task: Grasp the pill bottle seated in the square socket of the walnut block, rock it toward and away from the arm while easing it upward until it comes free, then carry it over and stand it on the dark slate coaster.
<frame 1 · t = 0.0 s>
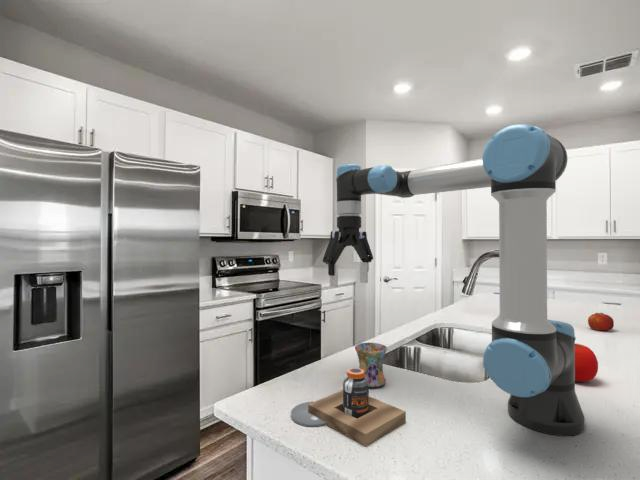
hand: (349, 284, 111), 28 cm above the counter, fingers open, 13 cm apart
tomato: (575, 380, 106), on the counter
coaster: (314, 414, 86), resting in socket block
tomato 2: (600, 330, 163), on the counter
socket block: (355, 418, 84), on the counter
mug: (368, 382, 106), on the counter
pill bottle: (355, 419, 84), resting in socket block
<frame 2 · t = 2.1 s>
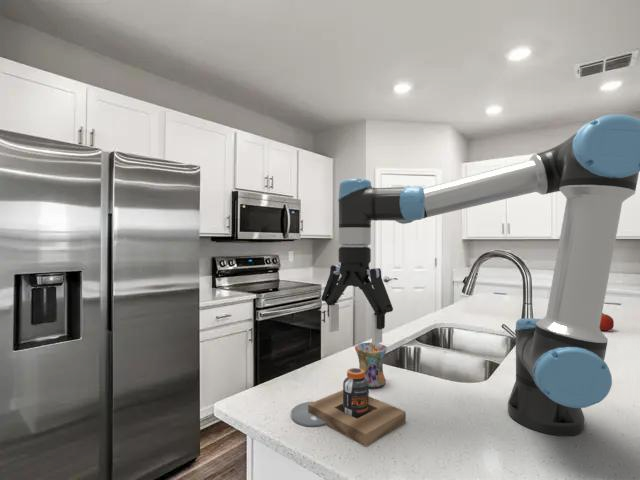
hand: (354, 336, 84), 19 cm above the counter, fingers open, 13 cm apart
nothing on the counter moved.
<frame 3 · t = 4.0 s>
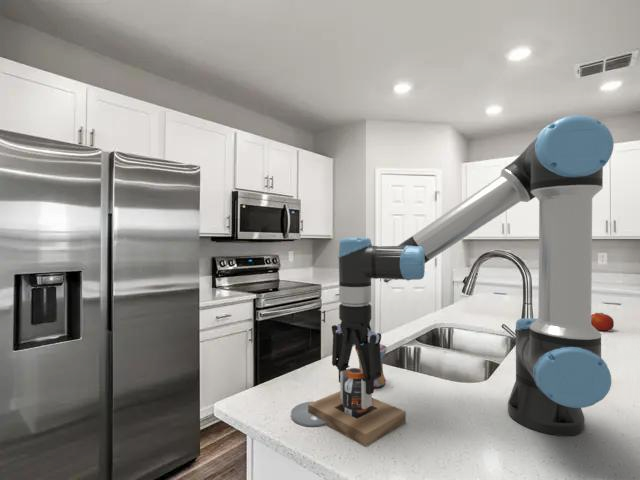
hand: (355, 401, 84), 4 cm above the counter, fingers closed on pill bottle, 6 cm apart
pill bottle: (355, 419, 84), resting in socket block, touching gripper
everything else where it was.
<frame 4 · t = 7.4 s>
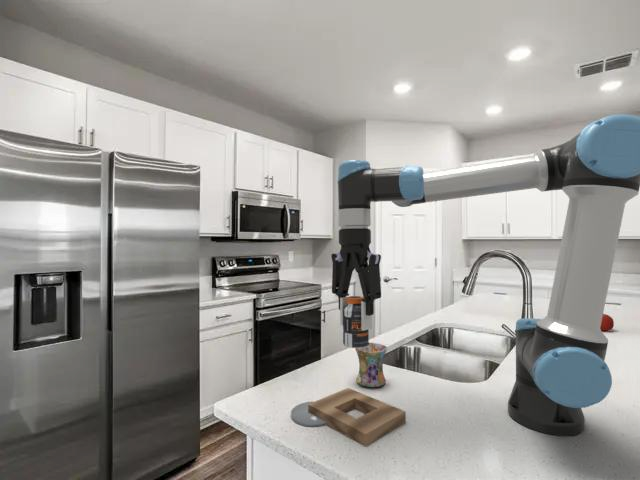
hand: (355, 326, 84), 22 cm above the counter, fingers closed on pill bottle, 6 cm apart
pill bottle: (356, 346, 84), point 17 cm above the counter, touching gripper
everything else where it was.
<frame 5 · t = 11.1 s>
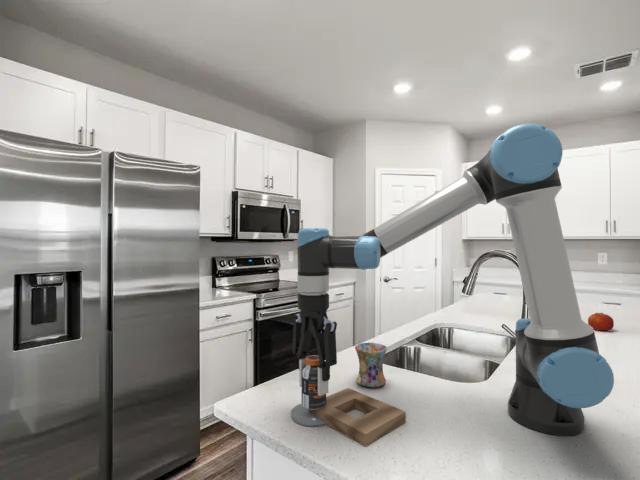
hand: (313, 389, 86), 6 cm above the counter, fingers closed on pill bottle, 6 cm apart
pill bottle: (314, 405, 86), point 2 cm above the counter, touching gripper, socket block
everything else where it was.
when the fingers open (6 cm above the counter, at t = 11.4 s): pill bottle stays where it is, resting on socket block.
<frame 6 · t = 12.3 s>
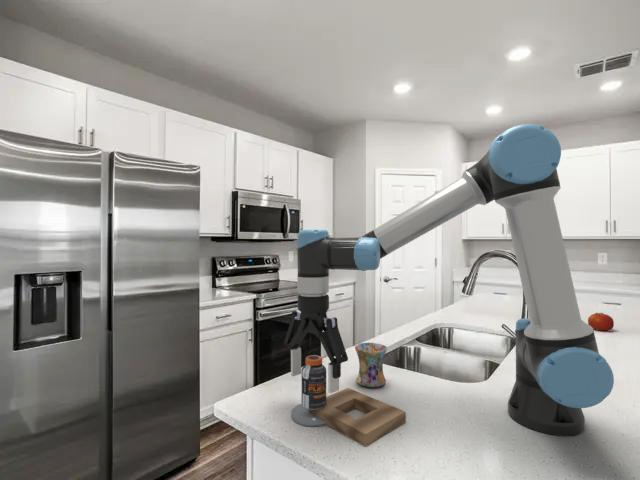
hand: (313, 382, 86), 8 cm above the counter, fingers open, 13 cm apart
pill bottle: (314, 405, 86), point 2 cm above the counter, touching socket block
everything else where it was.
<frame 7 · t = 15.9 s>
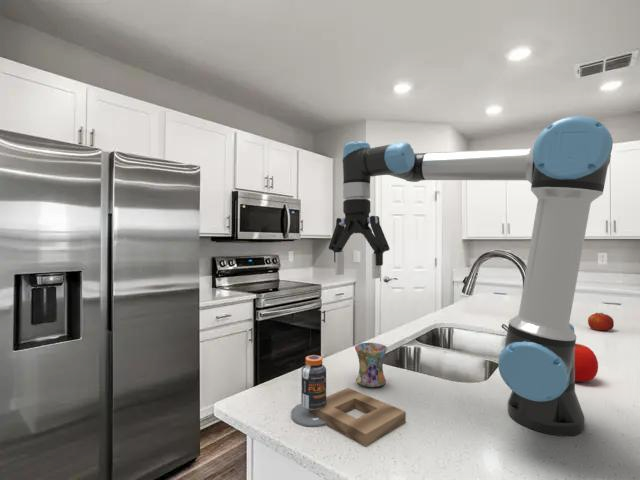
hand: (357, 276, 100), 32 cm above the counter, fingers open, 13 cm apart
nothing on the counter moved.
at the end: pill bottle 0.0 cm from the coaster (horizontally); pill bottle tilted 0°; pill bottle point 2.3 cm above the counter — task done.
